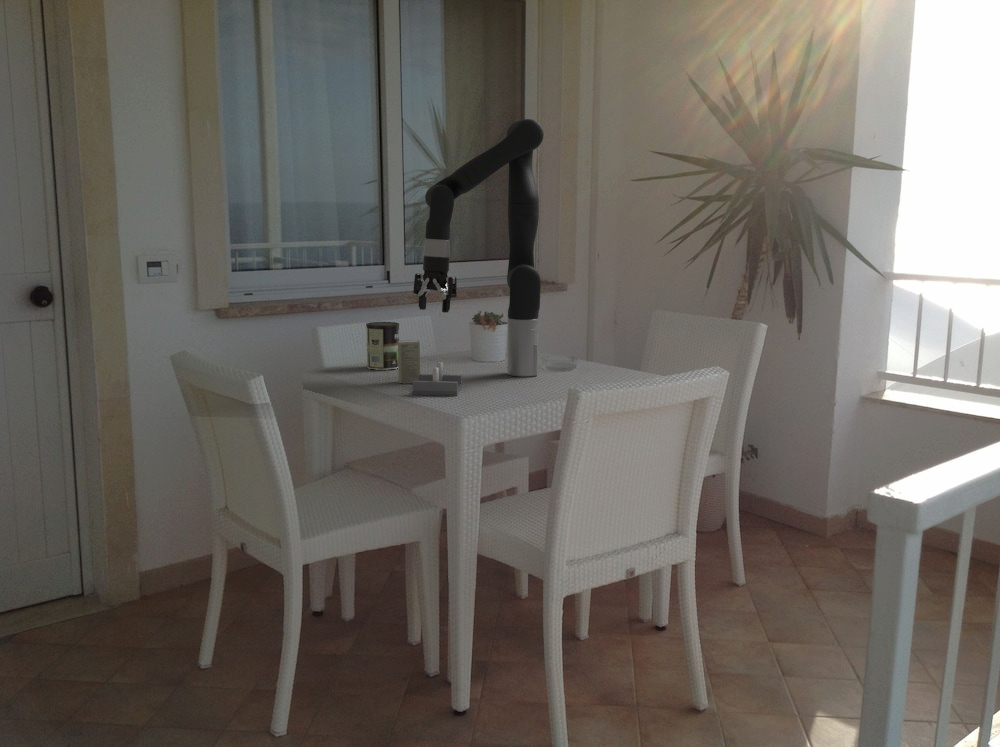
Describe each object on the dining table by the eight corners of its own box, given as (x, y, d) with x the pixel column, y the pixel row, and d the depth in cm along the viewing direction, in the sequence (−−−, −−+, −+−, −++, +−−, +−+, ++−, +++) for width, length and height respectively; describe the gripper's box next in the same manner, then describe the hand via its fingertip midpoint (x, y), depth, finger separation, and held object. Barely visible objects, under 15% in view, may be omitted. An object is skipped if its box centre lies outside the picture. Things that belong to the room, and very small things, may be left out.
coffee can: (400, 365, 302) (399, 321, 299) (399, 370, 292) (398, 325, 289) (367, 365, 301) (367, 321, 299) (365, 370, 291) (364, 325, 288)
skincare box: (419, 380, 276) (419, 339, 274) (420, 383, 271) (420, 341, 269) (397, 381, 275) (397, 339, 272) (398, 383, 270) (398, 341, 268)
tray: (461, 387, 266) (461, 362, 265) (457, 395, 254) (457, 369, 253) (419, 386, 267) (419, 361, 266) (412, 394, 255) (412, 368, 254)
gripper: (463, 257, 272) (460, 312, 274) (425, 253, 280) (423, 308, 283) (447, 256, 266) (444, 314, 268) (409, 253, 274) (406, 309, 276)
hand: (433, 310), depth 275 cm, fingers open, 8 cm apart
